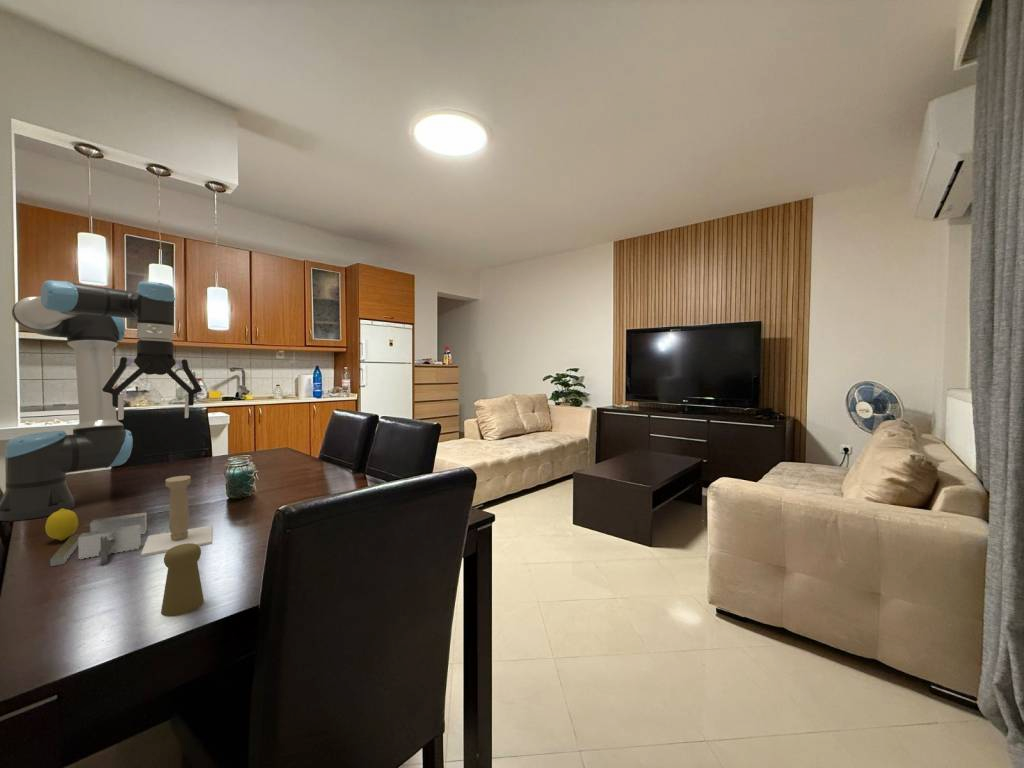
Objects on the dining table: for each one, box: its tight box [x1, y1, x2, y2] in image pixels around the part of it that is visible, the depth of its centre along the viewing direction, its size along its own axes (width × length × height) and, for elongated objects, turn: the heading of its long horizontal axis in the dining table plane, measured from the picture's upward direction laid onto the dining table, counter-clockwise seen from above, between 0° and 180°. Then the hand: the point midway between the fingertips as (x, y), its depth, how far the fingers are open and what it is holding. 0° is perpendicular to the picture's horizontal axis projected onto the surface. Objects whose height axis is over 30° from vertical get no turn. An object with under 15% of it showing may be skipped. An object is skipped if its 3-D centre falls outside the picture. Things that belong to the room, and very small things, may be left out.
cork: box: [160, 543, 205, 617], centre depth 74 cm, size 6×6×11 cm
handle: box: [164, 475, 192, 540], centre depth 102 cm, size 5×6×15 cm
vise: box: [49, 512, 148, 567], centre depth 96 cm, size 21×14×7 cm, turn 36°
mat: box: [140, 524, 213, 557], centre depth 102 cm, size 13×13×1 cm
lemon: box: [44, 508, 79, 542], centre depth 101 cm, size 6×6×8 cm
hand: (154, 418), depth 112 cm, fingers open, 13 cm apart
